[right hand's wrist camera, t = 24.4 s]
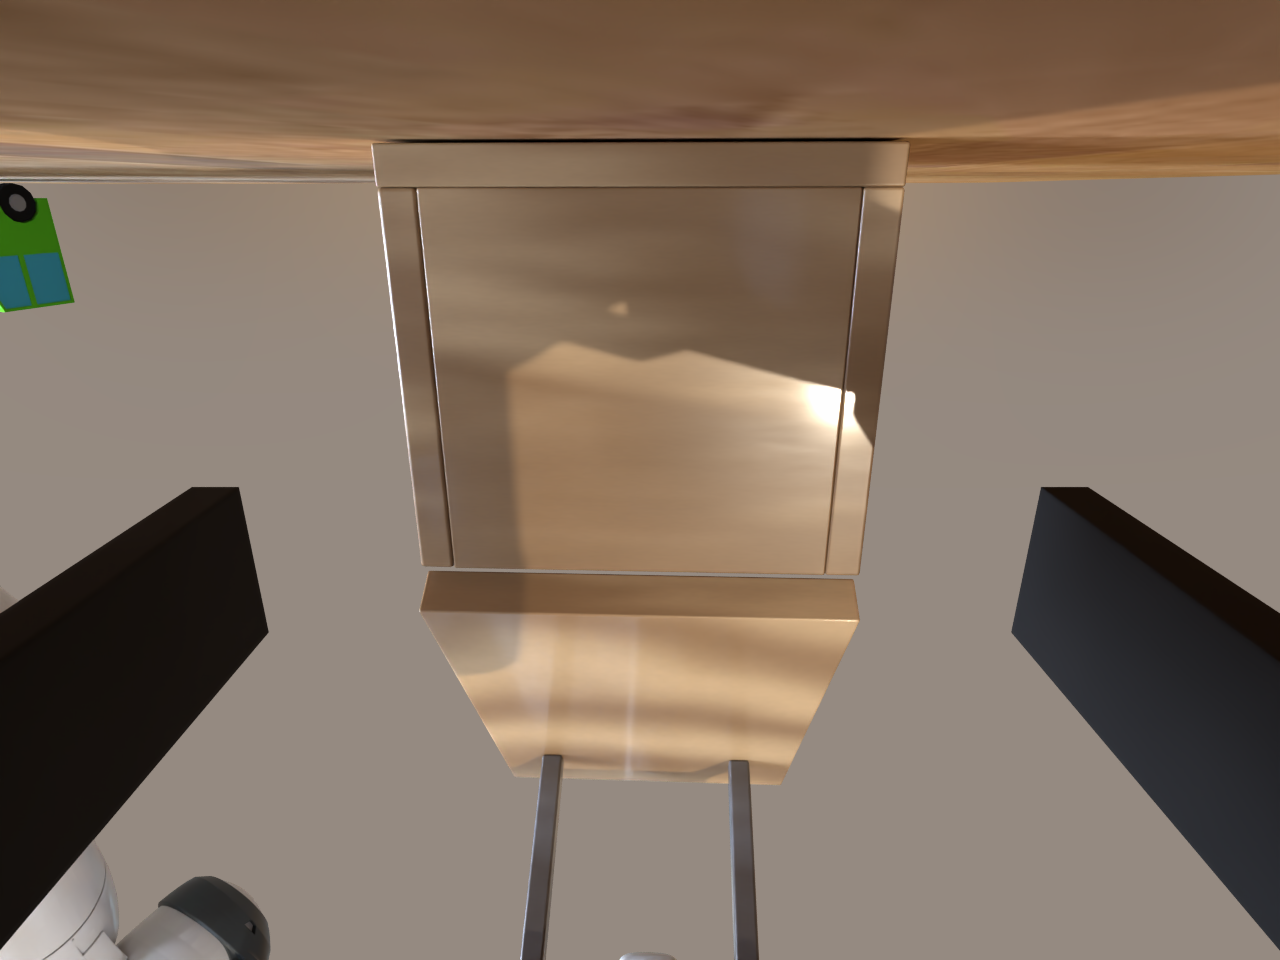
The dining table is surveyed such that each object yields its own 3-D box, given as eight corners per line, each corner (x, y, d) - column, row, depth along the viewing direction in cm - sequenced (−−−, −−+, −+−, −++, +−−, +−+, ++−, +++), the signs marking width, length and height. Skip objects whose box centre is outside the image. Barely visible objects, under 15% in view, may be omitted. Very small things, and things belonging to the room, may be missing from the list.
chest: (800, 164, 26) (782, 415, 29) (510, 164, 27) (524, 412, 30) (911, 141, 14) (859, 576, 17) (370, 143, 14) (420, 567, 18)
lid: (778, 755, 29) (799, 1044, 24) (517, 748, 29) (481, 1031, 24) (854, 578, 18) (926, 1057, 12) (427, 569, 18) (321, 1029, 13)
